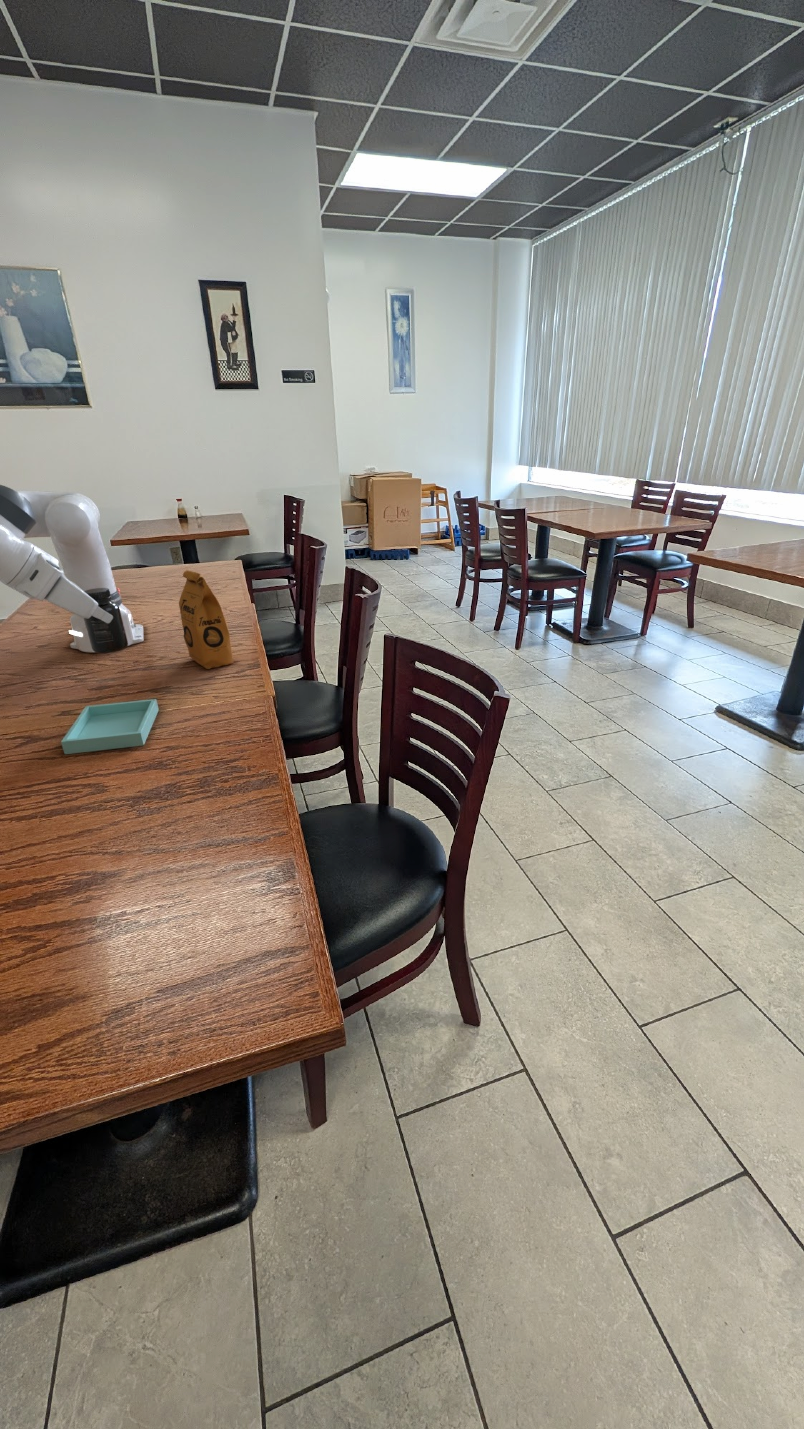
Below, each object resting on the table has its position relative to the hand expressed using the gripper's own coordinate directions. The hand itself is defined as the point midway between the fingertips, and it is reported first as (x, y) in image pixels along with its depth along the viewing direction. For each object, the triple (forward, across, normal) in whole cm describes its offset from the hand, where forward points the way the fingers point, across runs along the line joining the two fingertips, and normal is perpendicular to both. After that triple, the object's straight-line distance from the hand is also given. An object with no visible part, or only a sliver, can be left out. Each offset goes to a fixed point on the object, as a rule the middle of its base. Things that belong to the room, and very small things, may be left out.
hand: (105, 615), depth 117 cm
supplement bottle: (+5, 0, -5) cm, 7 cm away
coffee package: (+30, -13, +3) cm, 33 cm away
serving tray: (+10, +12, -18) cm, 24 cm away
